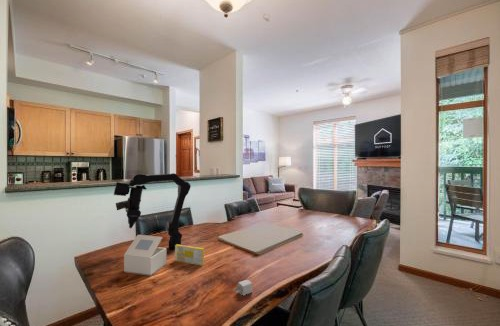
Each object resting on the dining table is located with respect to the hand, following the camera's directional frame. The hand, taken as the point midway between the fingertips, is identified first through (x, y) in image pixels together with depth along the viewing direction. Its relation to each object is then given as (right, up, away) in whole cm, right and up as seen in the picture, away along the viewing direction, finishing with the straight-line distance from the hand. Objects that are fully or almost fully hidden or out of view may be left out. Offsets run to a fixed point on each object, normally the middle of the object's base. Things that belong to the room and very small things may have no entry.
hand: (129, 225), depth 123 cm
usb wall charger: (+61, -18, -32) cm, 72 cm away
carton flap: (+14, -6, -14) cm, 21 cm away
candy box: (+33, -17, -6) cm, 38 cm away
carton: (+14, -17, -13) cm, 25 cm away
